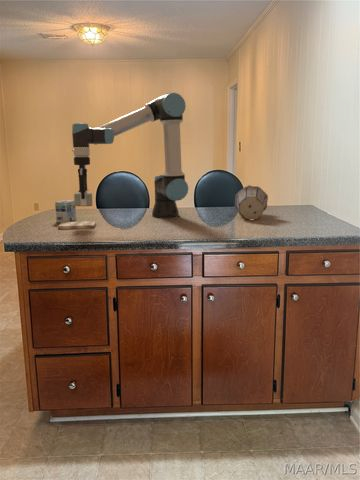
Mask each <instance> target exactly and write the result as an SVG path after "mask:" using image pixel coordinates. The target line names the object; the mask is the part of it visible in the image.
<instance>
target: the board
mask: <svg viewBox="0 0 360 480" xmlns="http://www.w3.org/2000/svg"><path fill="white" fill-rule="evenodd" d="M96 225H97V221H96V220H95V221H94V220H93V221H92V220H91V221H71V222H60V224H58V225H57V229H58V230H78V229H79V230H80V229H82V230H84V229H85V228H86V229H95V227H96Z"/></svg>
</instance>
